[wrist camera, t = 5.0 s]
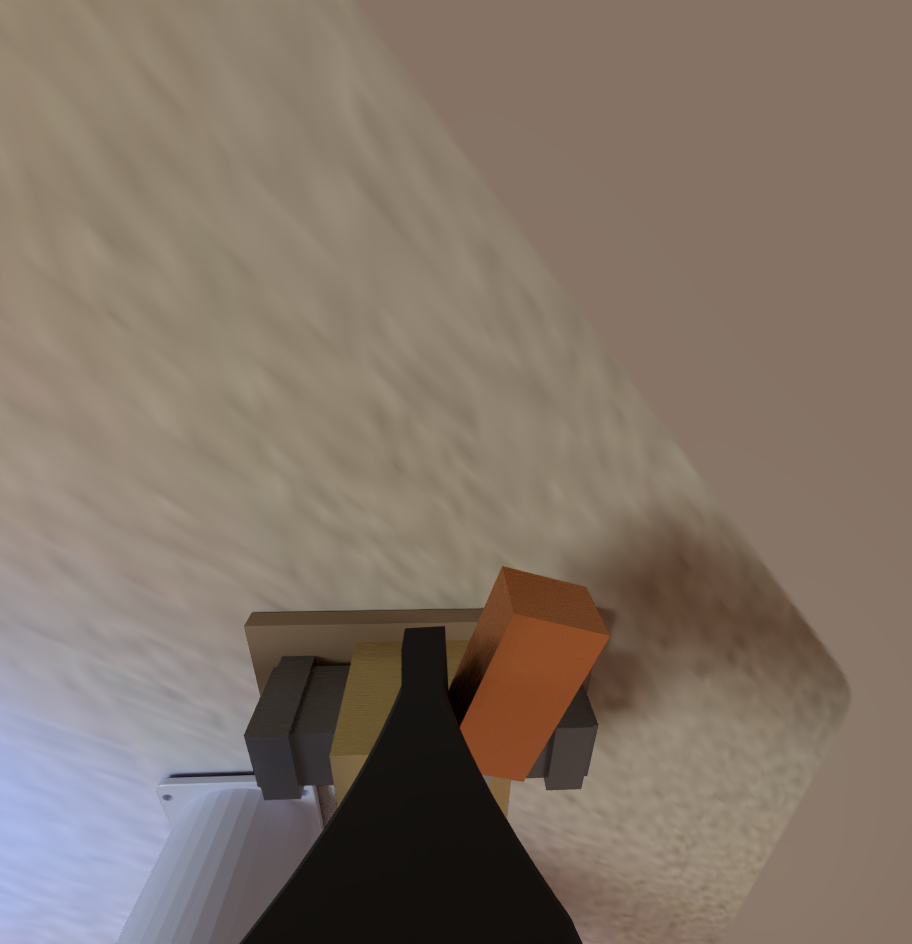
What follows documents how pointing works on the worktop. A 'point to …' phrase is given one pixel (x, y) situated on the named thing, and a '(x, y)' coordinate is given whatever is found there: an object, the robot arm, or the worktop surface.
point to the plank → (343, 634)
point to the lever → (523, 669)
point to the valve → (373, 725)
